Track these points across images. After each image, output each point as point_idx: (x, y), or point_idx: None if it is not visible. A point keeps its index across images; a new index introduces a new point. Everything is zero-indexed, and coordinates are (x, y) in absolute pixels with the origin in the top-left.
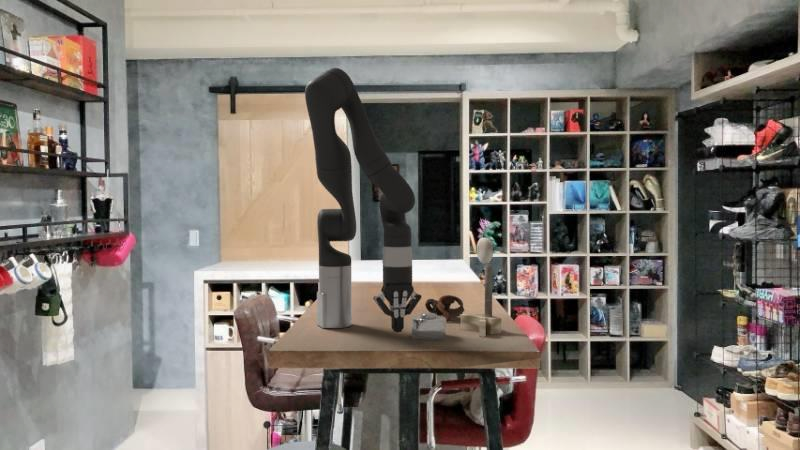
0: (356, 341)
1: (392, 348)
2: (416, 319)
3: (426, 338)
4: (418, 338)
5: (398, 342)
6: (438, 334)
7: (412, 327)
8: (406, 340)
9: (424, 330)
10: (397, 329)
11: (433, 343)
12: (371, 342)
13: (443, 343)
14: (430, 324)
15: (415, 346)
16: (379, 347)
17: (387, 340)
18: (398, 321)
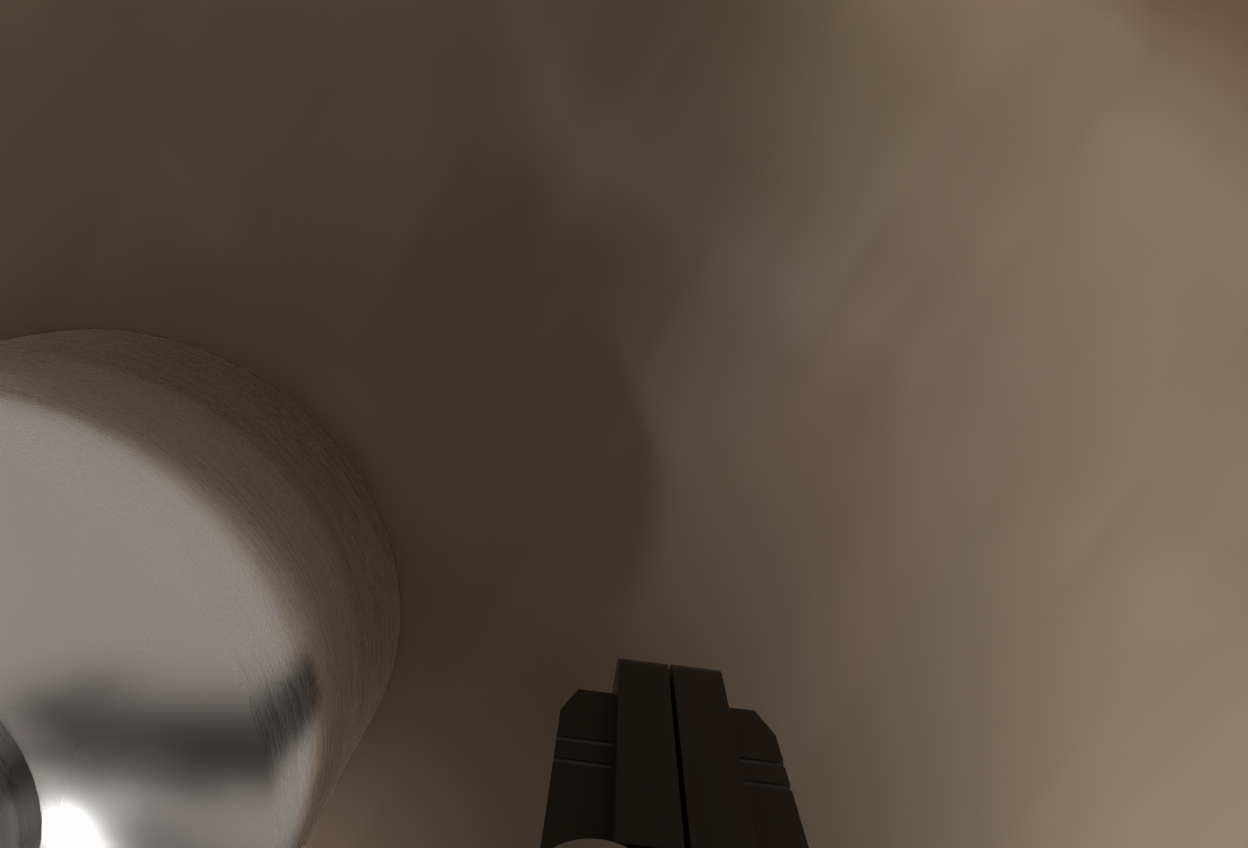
0: (1202, 821)
1: (1061, 161)
2: (200, 792)
3: (267, 402)
4: (367, 503)
5: (742, 483)
6: (18, 339)
7: (340, 743)
8: (565, 539)
9: (229, 459)
10: (709, 685)
11: (283, 130)
12: (1073, 674)
13: (125, 37)
14: (29, 419)
15: (663, 89)
16: (1181, 332)
17: (808, 673)
18: (699, 792)
